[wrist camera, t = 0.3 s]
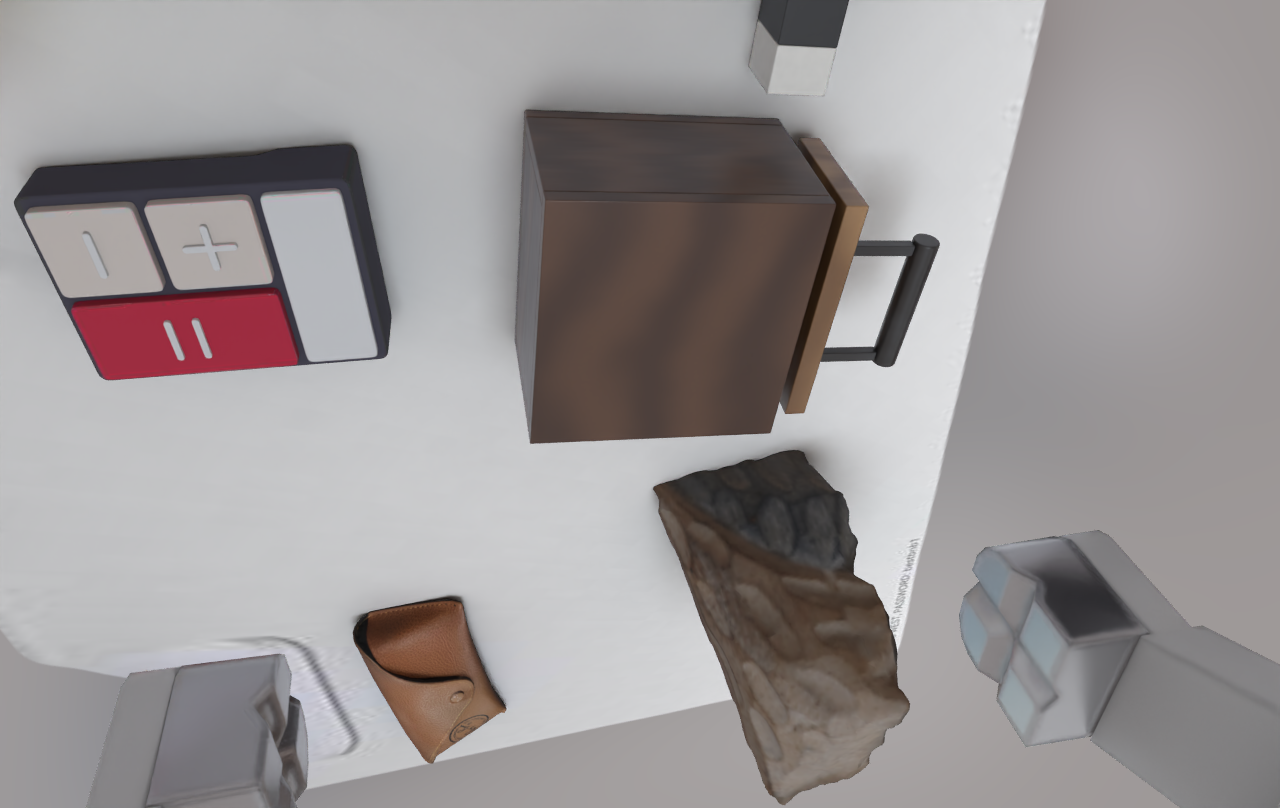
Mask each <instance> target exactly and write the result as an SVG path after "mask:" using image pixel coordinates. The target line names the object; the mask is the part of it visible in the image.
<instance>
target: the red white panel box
mask: <svg viewBox="0 0 1280 808" xmlns="http://www.w3.org/2000/svg"><path fill="white" fill-rule="evenodd" d="M14 205H15V208H16V210H17V212H18V214H19V216H20V218H21V220H22V222H23V224H24V226H25V228H26V230H27V232H28V234H29V236H30V238H31V240H32V242H33V244H34V246H35V248H36V250H37V252H38V254H39V256H40V258H41V260H42V262H43V264H44V266H45V268H46V270H47V272H48V274H49V276H50V278H51V280H52V282H53V284H54V286H55V288H56V290H57V292H58V294H59V296H60V298H61V300H62V302H63V304H64V306H65V308H66V310H67V312H68V314H69V316H70V318H71V320H72V322H73V324H74V326H75V328H76V330H77V332H78V334H79V336H80V338H81V340H82V342H83V344H84V346H85V348H86V350H87V352H88V354H89V356H90V358H91V360H92V362H93V364H94V366H95V368H96V370H97V372H98V374H99V376H100V377H101V378H103V379H105V380H121V379H134V378H146V377H159V376H171V375H184V374H196V373H209V372H221V371H234V370H246V369H259V368H271V367H284V366H296V365H309V364H322V363H334V362H347V361H359V360H372V359H381V358H384V357H386V356H387V354H388V347H389V337H390V327H391V311H390V306H389V302H388V297H387V292H386V288H385V283H384V278H383V273H382V269H381V264H380V259H379V255H378V250H377V245H376V241H375V236H374V231H373V226H372V222H371V217H370V212H369V208H368V203H367V198H366V194H365V189H364V184H363V179H362V175H361V170H360V165H359V161H358V156H357V152H356V150H355V149H354V148H353V147H351V146H348V145H338V146H320V147H303V148H285V149H276V150H273V151H270V152H267V153H263V154H260V155H257V156H243V157H225V158H207V159H190V160H172V161H154V162H137V163H119V164H101V165H84V166H66V167H48V168H39V169H37V170H35V172H34V173H33V174H32V176H31V177H30V178H29V180H28V181H27V183H26V184H25V185H24V187H23V188H22V190H21V191H20V193H19V194H18V196H17V197H16V199H15V201H14Z"/></svg>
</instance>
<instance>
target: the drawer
mask: <svg viewBox="0 0 1280 808" xmlns="http://www.w3.org/2000/svg"><path fill="white" fill-rule="evenodd" d="M797 147H798V149H799V150H800V152H801V153H802V155H803V156H804V158H805V159H806V161H807V162H808V164H809V165H810V167H811V168H812V170H813V171H814V173H815V174H816V176H817V177H818V178H819V180H820V181H821V183H822V184H823V186H824V187H825V189H826V190H827V192H828V193H829V195H830V196H831V197H832V199H833V200H834V202H835V203H836V207H835V211H834V214H833V218H832V221H831V225H830V228H829V232H828V235H827V238H826V242H825V245H824V249H823V252H822V256H821V259H820V263H819V266H818V270H817V273H816V277H815V280H814V284H813V287H812V290H811V294H810V297H809V301H808V304H807V308H806V311H805V315H804V318H803V322H802V325H801V329H800V332H799V335H798V339H797V342H796V346H795V349H794V353H793V356H792V360H791V363H790V367H789V370H788V374H787V377H786V381H785V384H784V387H783V391H782V394H781V398H780V404H781V406H782V408H783V410H784V412H785V414H795V413H804V412H805V408H806V405H807V402H808V399H809V396H810V393H811V389H812V386H813V383H814V380H815V377H816V374H817V370H818V367H819V364H820V362H831V361H869V360H872V361H873V362H874V363H875V364H877V365H879V366H882V367H891V366H893V365H894V364H895V361H896V359H897V356H898V353H899V351H900V348H901V345H902V343H903V340H904V338H905V335H906V332H907V330H908V327H909V324H910V322H911V319H912V317H913V314H914V311H915V309H916V306H917V303H918V301H919V298H920V296H921V293H922V290H923V288H924V285H925V282H926V280H927V277H928V275H929V272H930V269H931V267H932V264H933V261H934V259H935V256H936V254H937V251H938V248H939V246H940V243H939V241H938V240H937V239H936V238H935V237H933V236H930V235H927V234H917V235H915V236H914V237H913V240H912V242H911V241H858V240H859V237H860V234H861V230H862V227H863V224H864V221H865V218H866V215H867V211H868V208H869V206H868V205H867V203H866V202H865V200H864V199H863V198H862V196H861V195H860V193H859V192H858V191H857V189H856V188H855V187H854V185H853V184H852V182H851V181H850V180H849V178H848V177H847V175H846V174H845V173H844V171H843V170H842V169H841V167H840V166H839V164H838V163H837V162H836V160H835V159H834V157H833V156H832V155H831V153H830V152H829V151H828V149H827V148H826V146H825V145H824V144H823V142H822V141H821V139H819V138H799V142H798V146H797ZM853 256H906V259H905V262H904V265H903V268H902V270H901V273H900V276H899V279H898V282H897V284H896V287H895V290H894V293H893V295H892V298H891V301H890V304H889V307H888V309H887V312H886V315H885V318H884V321H883V323H882V326H881V329H880V332H879V335H878V337H877V340H876V343H875V346H874V347H837V348H825V345H826V342H827V339H828V335H829V332H830V329H831V326H832V323H833V319H834V316H835V313H836V310H837V307H838V304H839V300H840V297H841V294H842V291H843V288H844V285H845V281H846V278H847V275H848V272H849V269H850V265H851V262H852V259H853Z"/></svg>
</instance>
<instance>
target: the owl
mask: <svg viewBox="0 0 1280 808" xmlns="http://www.w3.org/2000/svg"><path fill="white" fill-rule="evenodd" d="M653 490H654V491H655V493H656V494H657V496H658V498H659V510H658V511H659V515H660V517H661V520H662V522H663V524H664V527H665V530H666V533H667V535H668V537H669V539H670V542H671V544H672V546H673V547H674V549H675V550H676V553H677V555H678V557H679V560H680V563H681V566H682V569H683V571H684V574H685V577H686V580H687V582H688V585H689V587H690V590H691V593H692V595H693V599H694V602H695V605H696V608H697V610H698V613H699V616H700V619H701V622H702V624H703V626H704V628H705V631H706V633H707V636H708V639H709V641H710V643H711V644H712V645H713V648H714V650H715V652H716V655H717V657H718V660H719V662H720V665H721V668H722V670H723V673H724V676H725V679H726V682H727V685H728V688H729V690H730V693H731V696H732V699H733V701H734V702H735V704H736V706H737V709H738V712H739V715H740V719H741V723H742V728H743V731H744V735H745V738H746V741H747V744H748V746H749V747H750V749H751V750H752V752H753V754H754V757H755V759H756V762H757V765H758V769H759V771H760V774H761V777H762V781H763V783H764V784H765V788H766V789H767V790H768V793H769V794H770V795H772V796H773V797H775V798H776V799H777V801H778V802H779V803H780V804H782V805H785V804H786V803H788V802H789V801H790V800H791V799H792V798H793V797H794V796H795V795H796V794H798V793H799V792H801V791H805V790H810V789H812V788H814V787H817V786H819V785H822V784H824V785H826V784H828V783H835V782H838V781H839V780H842V779H849V778H851V777H853V776H854V775H855V774H857V773H859V772H860V771H861V770H862V769H864V768H865V767H866V766H867V765H868V764H869V756H870V754H871V752H872V751H873V750H874V749H875V748H877V747H879V746H880V745H882V744H883V743H884V738H885V737H884V736H885V732H886V730H887V729H889V728H893V727H895V726H896V725H899V724H900V723H901V722H902V720H903V718H904V717H905V715H906V714H907V713H908V711H909V708H910V703H909V701H908V699H907V698H906V696H905V694H904V693H903V692H902V691H901V690H900V689H899V688H898V683H897V647H896V642H895V639H894V636H893V633H892V631H891V629H890V624H889V616H888V614H887V612H886V610H885V609H884V605H883V603H882V601H881V600H880V598H879V597H878V594H877V592H876V589H875V587H874V586H873V585H872V584H869V583H867V582H866V581H864V580H862V579H860V578H858V577H856V576H855V575H854V560H855V556H856V547H857V544H858V540H857V538H856V537H855V535H854V534H853V533H852V532H851V529H850V526H849V524H848V522H849V509H848V507H847V504H846V500H845V499H844V497H843V494H842V493H841V492H839V491H835V490H834V489H833V488H832V487H831V486H830V485H829V484H828V482H827V481H826V480H825V479H824V478H823V477H822V476H821V475H820V474H819V473H818V472H817V471H816V470H815V469H814V468H813V467H812V466H811V465H809V464H808V462H807V460H806V457H805V454H804V453H803V452H801V451H785V452H781V453H777V454H774V455H771V456H769V457H766V458H764V459H761V460H758V461H754V460H746V461H743V462H741V463H739V464H737V465H735V466H729V467H724V468H722V469H719V470H716V471H700V472H696V473H693V474H690V475H687V476H685V477H683V478H681V479H679V480H674V481H671V482H666V483H664V484H660V485H657V486H655V487H654V488H653Z"/></svg>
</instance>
